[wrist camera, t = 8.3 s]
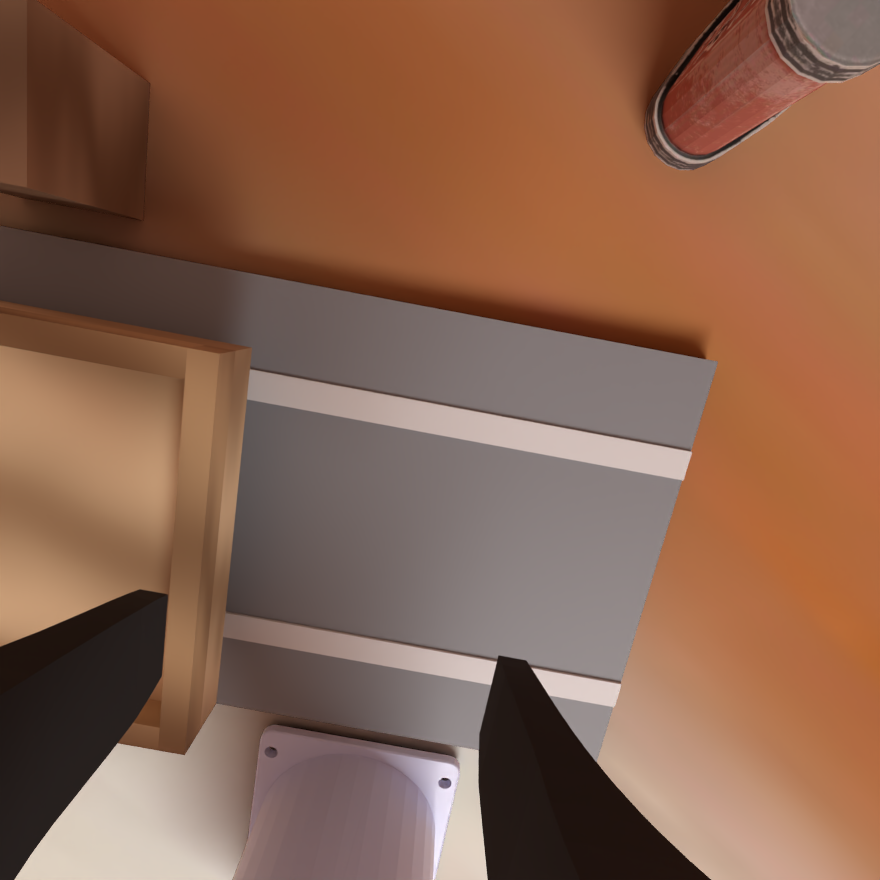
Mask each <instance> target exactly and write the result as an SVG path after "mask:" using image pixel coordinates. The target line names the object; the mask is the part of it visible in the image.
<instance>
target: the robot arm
mask: <svg viewBox="0 0 880 880" xmlns="http://www.w3.org/2000/svg"><path fill="white" fill-rule="evenodd" d="M167 604H168V594H164V593H158V592H153V591H148V590H142V589H139V590H136V591H134V592H131V593H128V594H126V595H123V596H121V597H118V598H116V599H113V600H111V601H109V602H106V603H104V604H102V605H99V606H97V607H95V608H93V609H90V610H88V611H86V612H83V613H81V614H79V615H76V616H74V617H72V618H69V619H67V620H65V621H62V622H60V623H58V624H55V625H53V626H51V627H48V628H46V629H44V630H41V631H39V632H36V633H34V634H31V635H29V636H26V637H23V638H21V639H18V640H16V641H13V642H11V643H8V644H6V645H3V646H0V880H14V879H15V878H16V876H17V875H18V873H19V872H20V870H21V869H22V867H23V866H24V864H25V863H26V861H27V860H28V858H29V857H30V855H31V854H32V852H33V851H34V849H35V848H36V847H37V845H38V844H39V843H40V841H41V840H42V838H43V837H44V836H45V834H46V833H47V832H48V830H49V829H50V828H51V826H52V825H53V824H54V822H55V821H56V820H57V819H58V817H59V816H60V815H61V814H62V812H63V811H64V810H65V809H66V807H67V806H68V805H69V804H70V802H71V801H72V800H73V799H74V797H75V796H76V795H77V794H78V792H79V791H80V790H81V789H82V787H83V786H84V785H85V783H86V782H87V781H88V780H89V778H90V777H91V776H92V775H93V773H94V772H95V771H96V770H97V768H98V767H99V766H100V765H101V763H102V762H103V761H104V760H105V758H106V757H107V756H108V755H109V753H110V752H111V751H112V749H113V748H114V747H115V746H116V744H117V743H118V742H119V741H120V739H121V738H122V737H123V735H124V734H125V733H126V732H127V730H128V729H129V728H130V726H131V725H132V724H133V722H134V721H135V720H136V718H137V717H138V715H139V713H140V712H141V710H142V709H143V707H144V705H145V704H146V702H147V701H148V699H149V697H150V696H151V694H152V692H153V691H154V689H155V687H156V686H157V684H158V682H159V680H160V679H161V677H162V670H163V656H164V643H165V630H166V617H167ZM269 747H273V748H275V749H276V750H272V749H270V748H269ZM459 775H460V764H459V762H458V760H457V759H456V758H454V757H452V756H449V755H443V754H437V753H432V752H426V751H420V750H415V749H409V748H404V747H398V746H392V745H387V744H381V743H376V742H370V741H364V740H359V739H353V738H347V737H342V736H336V735H331V734H325V733H319V732H314V731H308V730H302V729H297V728H291V727H286V726H280V725H270V726H267V727H266V728H265V729H264V731H263V733H262V736H261V738H260V746H259V753H258V761H257V769H256V777H255V785H254V793H253V801H252V809H251V817H250V825H249V833H248V841H247V844H246V846H245V849H244V852H243V854H242V857H241V859H240V862H239V864H238V867H237V869H236V872H235V874H234V877H233V880H435V878H436V873H437V869H438V865H439V860H440V856H441V852H442V848H443V843H444V839H445V835H446V830H447V826H448V822H449V818H450V813H451V809H452V805H453V800H454V796H455V792H456V788H457V783H458V779H459ZM442 778H448V779H449V780H442ZM479 794H480V805H481V815H482V826H483V836H484V846H485V856H486V866H487V876H488V880H711V879H710V878H708V877H707V876H706V875H705V874H704V873H703V872H702V871H701V870H699V869H698V868H697V867H696V866H695V865H694V864H693V863H691V862H690V861H689V860H688V859H687V858H686V857H685V856H684V855H683V854H682V853H681V852H680V851H679V850H678V849H677V848H675V847H674V846H673V845H672V844H671V843H670V842H669V841H668V840H667V839H666V838H665V837H664V836H663V835H662V834H661V833H660V832H659V831H658V830H657V829H656V828H655V827H654V826H653V825H652V824H651V823H650V822H649V821H648V820H647V819H646V818H645V817H644V816H643V815H642V814H641V813H640V812H639V811H638V810H637V809H636V807H635V806H634V805H633V804H632V803H631V802H630V801H629V800H628V799H627V798H626V797H625V795H624V794H623V793H622V792H621V791H620V790H619V789H618V788H617V787H616V785H615V784H614V783H613V782H612V781H611V780H610V778H609V777H608V776H607V775H606V774H605V772H604V771H603V770H602V769H601V767H600V766H599V765H598V764H597V762H596V761H595V760H594V759H593V757H592V756H591V755H590V753H589V752H588V751H587V750H586V748H585V747H584V746H583V744H582V743H581V742H580V740H579V739H578V738H577V736H576V735H575V733H574V732H573V731H572V729H571V728H570V726H569V725H568V723H567V722H566V721H565V719H564V718H563V716H562V715H561V713H560V712H559V710H558V709H557V707H556V706H555V704H554V703H553V701H552V700H551V698H550V697H549V695H548V693H547V692H546V690H545V689H544V687H543V686H542V684H541V682H540V681H539V679H538V678H537V676H536V675H535V673H534V671H533V670H532V668H531V667H530V665H529V664H528V662H527V661H526V660H522V659H516V658H511V657H505V656H500V655H498V660H497V664H496V668H495V672H494V676H493V680H492V684H491V688H490V692H489V696H488V700H487V705H486V709H485V713H484V717H483V721H482V725H481V729H480V733H479Z"/></svg>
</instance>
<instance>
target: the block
mask: <svg viewBox="0 0 880 880" xmlns="http://www.w3.org/2000/svg"><path fill="white" fill-rule="evenodd" d="M149 98H150V83H148V82H147V81H146V80H144V79H143V78H142V77H140V76H139V75H138V74H136V73H135V72H134V71H132V70H131V69H129V68H128V67H127V66H125V65H124V64H123V63H121V62H120V61H119V60H117V59H116V58H114V57H113V56H112V55H110V54H109V53H108V52H106V51H105V50H104V49H102V48H101V47H99V46H98V45H97V44H95V43H94V42H93V41H91V40H90V39H89V38H87V37H86V36H84V35H83V34H82V33H80V32H79V31H78V30H76V29H75V28H74V27H72V26H71V25H70V24H68V23H67V22H65V21H64V20H63V19H61V18H60V17H59V16H57V15H56V14H55V13H53V12H52V11H50V10H49V9H48V8H46V7H45V6H44V5H42V4H41V3H40V2H38V1H37V0H0V192H1V193H5V194H9V195H13V196H17V197H21V198H26V199H31V200H37V201H42V202H47V203H53V204H58V205H63V206H69V207H74V208H80V209H85V210H90V211H96V212H101V213H106V214H112V215H117V216H123V217H128V218H133V219H139V220H144V202H145V181H146V160H147V140H148V119H149Z"/></svg>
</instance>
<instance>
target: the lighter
mask: <svg viewBox="0 0 880 880" xmlns="http://www.w3.org/2000/svg"><path fill="white" fill-rule="evenodd" d="M879 64H880V0H730V1H729V3H728V4H727V5H726V6H725V7H724V8H723V9H722V11H721V12H720V13H719V14H718V15H717V16H716V17H715V18H714V20H713V21H712V22H711V23H710V24H709V25H708V26H707V28H706V29H705V30H704V31H703V32H702V33H701V34H700V35H699V37H698V38H697V39H696V40H695V41H694V42H693V43H692V44H691V46H690V47H689V48H688V49H687V50H686V51H685V53H684V54H683V56H682V57H681V58H680V60H679V61H678V63H677V64H676V65H675V67H674V68H673V70H672V71H671V72H670V74H669V75H668V77H667V78H666V79H665V81H664V82H663V84H662V85H661V86H660V88H659V89H658V91H657V92H656V93H655V95H654V96H653V98H652V100H651V102H650V104H649V106H648V108H647V110H646V116H645V125H644V128H645V132H646V137H647V142H648V144H649V145H650V147H651V149H652V151H653V152H654V154H655V156H657V157H658V158H659V159H660V160H661V161H662V162H663V163H665V164H666V165H668V166H670V167H673V168H675V169H678V170H694V169H697V168H699V167H702V166H704V165H706V164H708V163H710V162H711V161H713V160H715V159H717V158H718V157H720V156H721V155H723V154H724V153H726V152H727V151H729V150H731V149H732V148H734V147H735V146H737V145H738V144H740V143H741V142H743V141H744V140H746V139H747V138H749V137H750V136H752V135H753V134H755V133H756V132H758V131H759V130H761V129H762V128H764V127H765V126H767V125H768V124H769V123H771V122H772V121H773V120H774V119H775V118H777V117H778V116H779V115H780V114H782V113H783V112H784V111H785V110H786V109H788V108H789V107H790V106H791V105H792V104H794V103H795V102H797V101H799V100H800V99H802V98H803V97H805V96H807V95H808V94H810V93H812V92H813V91H815V90H817V89H818V88H820V87H822V86H823V85H825V84H826V83H842V82H844V81H847V80H849V79H852V78H854V77H856V76H859V75H861V74H863V73H865V72H867V71H868V70H870V69H872V68H874V67H875V66H877V65H879Z"/></svg>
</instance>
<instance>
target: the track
mask: <svg viewBox="0 0 880 880" xmlns="http://www.w3.org/2000/svg"><path fill="white" fill-rule="evenodd" d="M0 300H1V301H6V302H11V303H17V304H22V305H27V306H33V307H38V308H43V309H49V310H54V311H59V312H65V313H70V314H75V315H81V316H86V317H91V318H97V319H102V320H107V321H113V322H118V323H123V324H129V325H134V326H139V327H145V328H150V329H155V330H161V331H166V332H171V333H177V334H182V335H187V336H193V337H198V338H203V339H209V340H214V341H219V342H225V343H230V344H235V345H241V346H246V347H251V348H252V354H251V364H250V374H249V384H248V393H247V403H246V413H245V423H244V433H243V443H242V453H241V463H240V473H239V483H238V492H237V502H236V512H235V522H234V532H233V542H232V552H231V562H230V572H229V582H228V592H227V601H226V611H225V621H224V631H223V641H222V651H221V661H220V671H219V681H218V691H217V701H216V703H217V704H223V705H229V706H234V707H240V708H245V709H251V710H257V711H262V712H268V713H273V714H279V715H285V716H290V717H296V718H301V719H307V720H313V721H318V722H324V723H330V724H335V725H341V726H346V727H352V728H358V729H363V730H369V731H374V732H380V733H386V734H391V735H397V736H402V737H408V738H414V739H419V740H425V741H431V742H436V743H442V744H447V745H453V746H459V747H464V748H470V749H475V750H479V733H480V729H481V725H482V721H483V717H484V713H485V709H486V705H487V700H488V696H489V692H490V688H491V684H492V680H493V676H494V672H495V668H496V664H497V660H498V655H500V656H505V657H511V658H516V659H522V660H526V661H527V662H528V664H529V665H530V667H531V668H532V670H533V671H534V673H535V675H536V676H537V678H538V679H539V681H540V682H541V684H542V686H543V687H544V689H545V690H546V692H547V693H548V695H549V697H550V698H551V700H552V701H553V703H554V704H555V706H556V707H557V709H558V710H559V712H560V713H561V715H562V716H563V718H564V719H565V721H566V722H567V723H568V725H569V726H570V728H571V729H572V731H573V732H574V733H575V735H576V736H577V738H578V739H579V740H580V742H581V743H582V744H583V746H584V747H585V748H586V750H587V751H588V752H589V753H590V755H591V756H592V757H593V759H594V760H595V761H596V762H597V759H598V756H599V752H600V749H601V746H602V742H603V739H604V736H605V733H606V729H607V726H608V723H609V719H610V716H611V713H612V710H613V707H615V704H616V701H617V697H618V694H619V691H620V688H621V680H622V677H623V673H624V670H625V667H626V663H627V660H628V657H629V653H630V650H631V647H632V644H633V640H634V637H635V634H636V630H637V627H638V624H639V621H640V617H641V614H642V611H643V607H644V604H645V601H646V597H647V594H648V591H649V588H650V584H651V581H652V578H653V574H654V571H655V568H656V564H657V561H658V558H659V555H660V551H661V548H662V545H663V541H664V538H665V535H666V532H667V528H668V525H669V522H670V518H671V515H672V512H673V508H674V505H675V502H676V499H677V495H678V492H679V489H680V485H681V482H682V480H684V477H685V474H686V470H687V467H688V464H689V461H690V457H691V454H692V452H691V449H692V446H693V443H694V439H695V436H696V433H697V429H698V426H699V423H700V419H701V416H702V413H703V410H704V406H705V403H706V400H707V396H708V393H709V390H710V386H711V383H712V380H713V377H714V373H715V370H716V367H717V363H718V362H717V361H712V360H707V359H702V358H696V357H691V356H686V355H680V354H675V353H670V352H665V351H659V350H654V349H649V348H643V347H638V346H633V345H628V344H622V343H617V342H612V341H606V340H601V339H596V338H591V337H585V336H580V335H575V334H569V333H564V332H559V331H554V330H548V329H543V328H538V327H533V326H527V325H522V324H517V323H511V322H506V321H501V320H496V319H490V318H485V317H480V316H474V315H469V314H464V313H459V312H453V311H448V310H443V309H437V308H432V307H427V306H422V305H416V304H411V303H406V302H400V301H395V300H390V299H385V298H379V297H374V296H369V295H363V294H358V293H353V292H348V291H342V290H337V289H332V288H326V287H321V286H316V285H311V284H305V283H300V282H295V281H289V280H284V279H279V278H274V277H268V276H263V275H258V274H252V273H247V272H242V271H237V270H231V269H226V268H221V267H215V266H210V265H205V264H200V263H194V262H189V261H184V260H179V259H173V258H168V257H163V256H157V255H152V254H147V253H142V252H136V251H131V250H126V249H120V248H115V247H110V246H105V245H99V244H94V243H89V242H83V241H78V240H73V239H68V238H62V237H57V236H52V235H46V234H41V233H36V232H31V231H25V230H20V229H15V228H9V227H4V226H0Z"/></svg>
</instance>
